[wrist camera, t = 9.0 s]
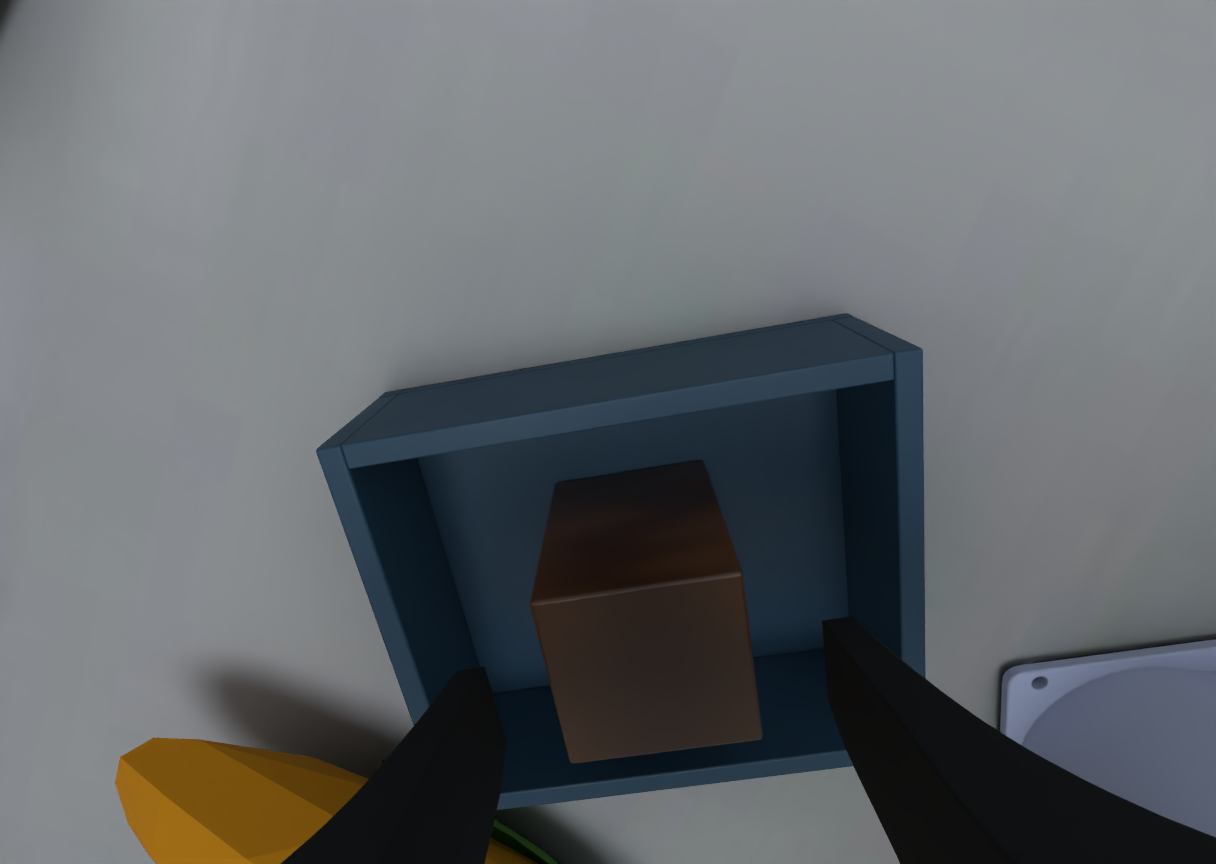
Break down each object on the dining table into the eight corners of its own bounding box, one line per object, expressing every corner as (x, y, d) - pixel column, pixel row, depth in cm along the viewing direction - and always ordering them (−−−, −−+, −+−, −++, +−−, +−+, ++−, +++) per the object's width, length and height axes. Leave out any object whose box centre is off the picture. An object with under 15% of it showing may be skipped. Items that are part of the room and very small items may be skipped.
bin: (847, 312, 17) (923, 347, 13) (863, 646, 21) (927, 758, 17) (383, 392, 18) (313, 449, 14) (478, 699, 22) (445, 817, 18)
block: (703, 458, 18) (743, 572, 13) (720, 586, 20) (764, 741, 14) (554, 481, 18) (527, 603, 13) (582, 607, 20) (569, 766, 14)
